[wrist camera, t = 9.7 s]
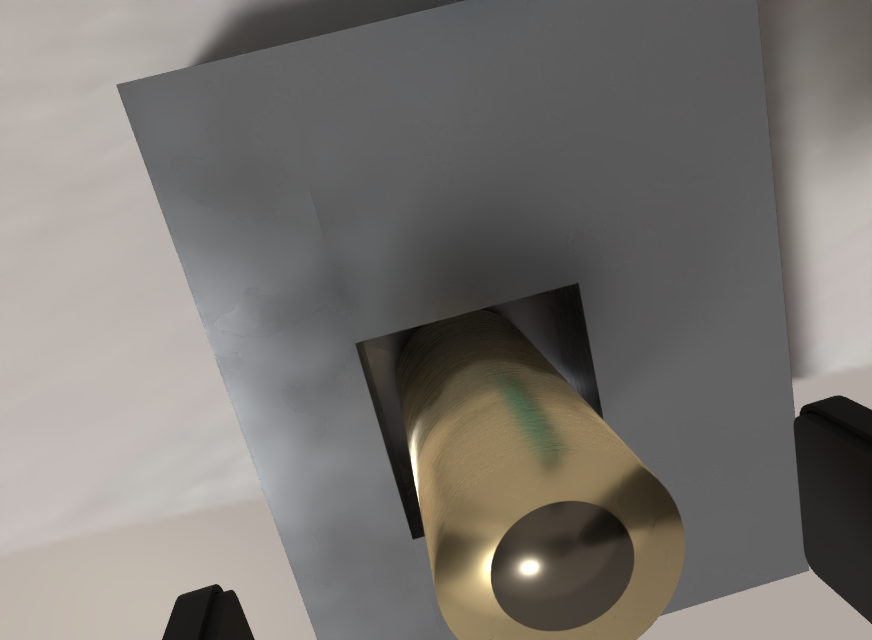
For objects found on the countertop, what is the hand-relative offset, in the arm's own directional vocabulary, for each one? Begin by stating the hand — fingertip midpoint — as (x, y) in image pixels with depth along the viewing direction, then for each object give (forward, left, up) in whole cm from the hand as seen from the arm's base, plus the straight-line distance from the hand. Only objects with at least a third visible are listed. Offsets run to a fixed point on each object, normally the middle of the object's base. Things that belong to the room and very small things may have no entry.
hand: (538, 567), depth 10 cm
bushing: (0, 0, -9) cm, 9 cm away
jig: (+2, +1, -10) cm, 10 cm away
